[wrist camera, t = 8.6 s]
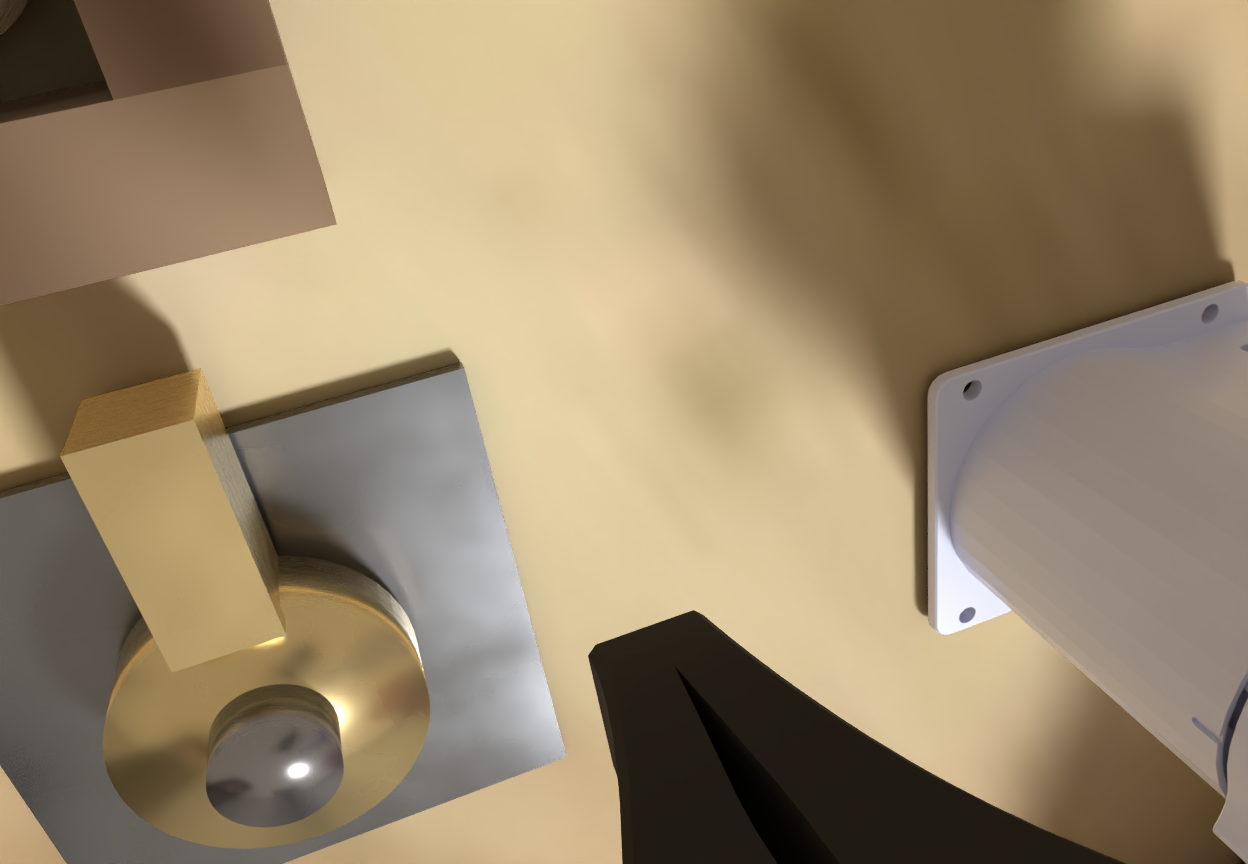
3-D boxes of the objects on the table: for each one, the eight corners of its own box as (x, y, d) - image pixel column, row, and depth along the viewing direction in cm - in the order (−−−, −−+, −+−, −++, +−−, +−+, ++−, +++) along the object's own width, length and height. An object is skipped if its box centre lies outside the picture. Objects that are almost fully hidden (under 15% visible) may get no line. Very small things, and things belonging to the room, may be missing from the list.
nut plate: (460, 362, 19) (463, 367, 19) (563, 748, 25) (566, 756, 25) (-145, 532, 17) (-151, 540, 17) (112, 917, 23) (110, 928, 22)
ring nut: (313, 338, 18) (322, 401, 15) (447, 729, 23) (471, 825, 20) (-43, 433, 16) (-96, 519, 14) (180, 825, 21) (170, 940, 19)
